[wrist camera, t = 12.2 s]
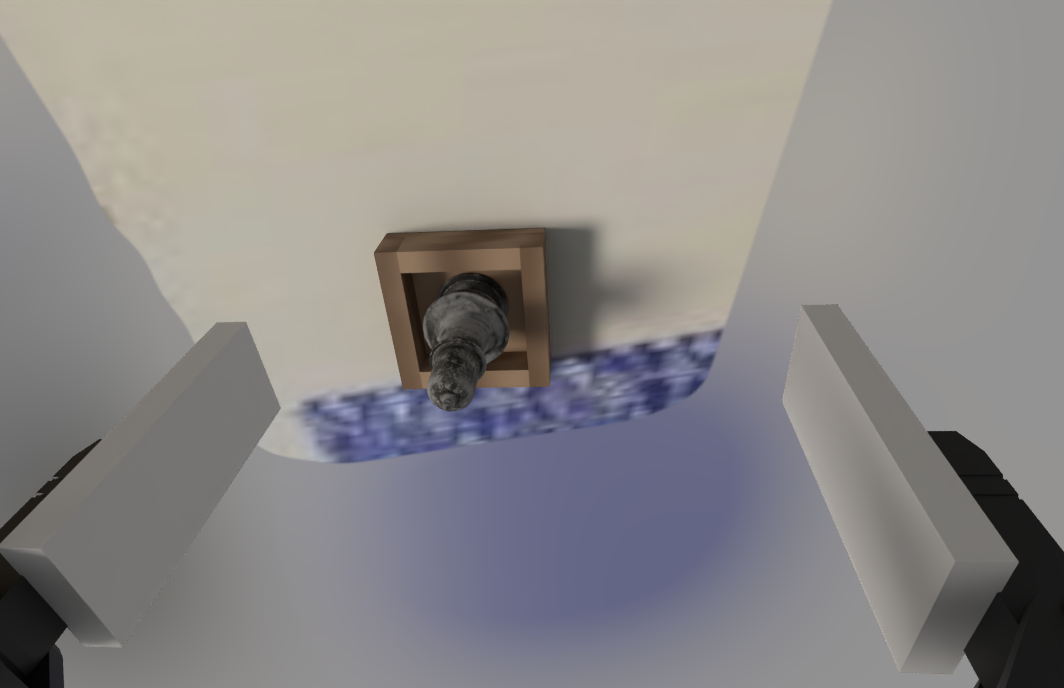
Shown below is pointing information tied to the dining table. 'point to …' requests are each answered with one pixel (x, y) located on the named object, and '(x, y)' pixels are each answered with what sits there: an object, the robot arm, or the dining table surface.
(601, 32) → the dining table surface
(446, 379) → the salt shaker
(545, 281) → the walnut holder
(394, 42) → the dining table surface
